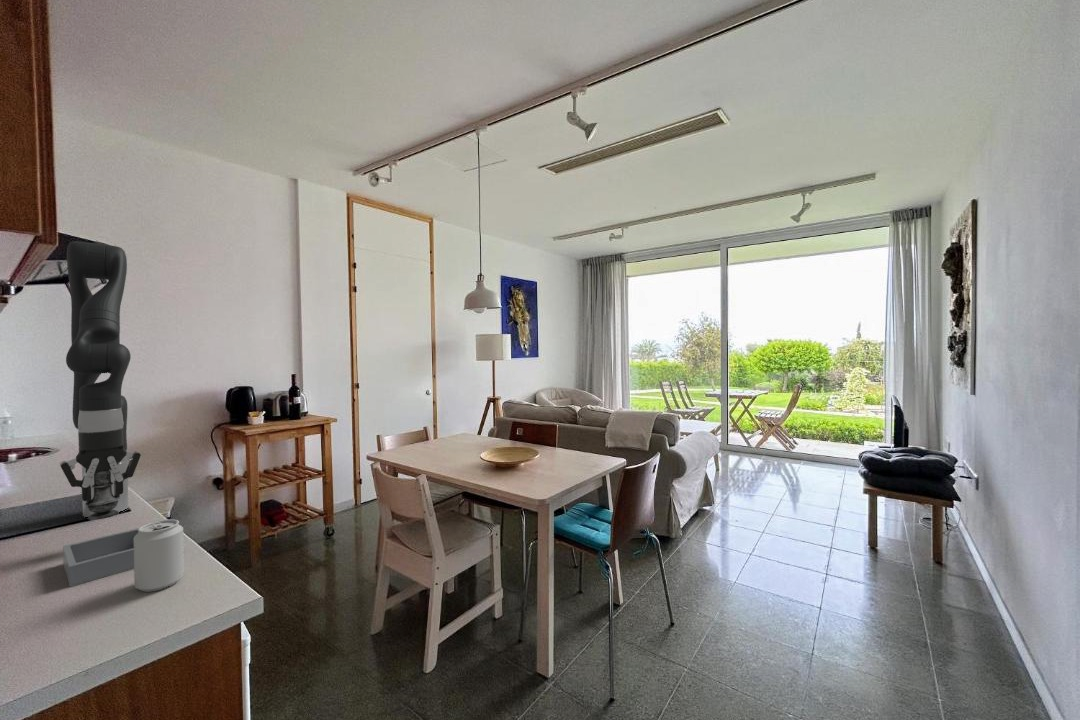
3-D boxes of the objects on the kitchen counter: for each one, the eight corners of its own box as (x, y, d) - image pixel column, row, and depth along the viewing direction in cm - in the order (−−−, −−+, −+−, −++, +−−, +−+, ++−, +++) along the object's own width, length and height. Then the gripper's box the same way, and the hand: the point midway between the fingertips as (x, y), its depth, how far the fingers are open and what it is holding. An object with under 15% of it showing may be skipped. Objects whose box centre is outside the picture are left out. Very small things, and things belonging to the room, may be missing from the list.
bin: (63, 564, 95) (62, 546, 95) (148, 542, 106) (148, 525, 106) (69, 586, 86) (69, 566, 86) (162, 560, 97) (161, 542, 97)
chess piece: (98, 521, 101) (97, 470, 101) (78, 518, 102) (77, 468, 102) (127, 511, 107) (125, 463, 106) (108, 509, 108) (107, 461, 108)
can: (142, 598, 83) (141, 535, 82) (128, 586, 87) (127, 526, 86) (190, 580, 89) (189, 522, 89) (175, 570, 93) (174, 514, 93)
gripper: (138, 421, 112) (139, 488, 112) (55, 430, 100) (57, 503, 101) (144, 425, 107) (146, 495, 108) (57, 434, 96) (60, 512, 96)
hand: (102, 498), depth 104 cm, fingers closed on chess piece, 4 cm apart
